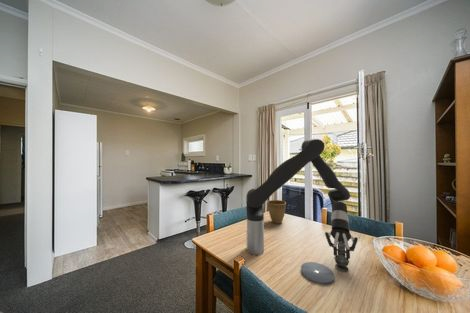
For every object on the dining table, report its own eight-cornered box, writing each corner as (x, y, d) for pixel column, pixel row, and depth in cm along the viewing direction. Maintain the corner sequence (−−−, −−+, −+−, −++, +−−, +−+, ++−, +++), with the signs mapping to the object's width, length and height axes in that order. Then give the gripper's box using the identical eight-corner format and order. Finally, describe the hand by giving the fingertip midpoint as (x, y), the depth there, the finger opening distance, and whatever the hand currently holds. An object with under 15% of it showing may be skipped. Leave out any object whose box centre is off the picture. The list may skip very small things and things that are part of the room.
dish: (308, 284, 68) (308, 281, 68) (296, 264, 81) (296, 262, 81) (341, 283, 68) (341, 280, 68) (323, 264, 81) (323, 261, 81)
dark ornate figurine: (343, 273, 74) (343, 244, 74) (331, 265, 80) (330, 239, 80) (352, 269, 76) (352, 242, 77) (339, 262, 82) (339, 236, 82)
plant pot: (271, 217, 148) (271, 199, 148) (289, 221, 139) (288, 201, 140) (264, 223, 136) (263, 202, 136) (282, 227, 127) (282, 205, 128)
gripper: (324, 215, 88) (323, 250, 77) (357, 220, 82) (362, 259, 71) (324, 223, 93) (324, 256, 82) (356, 227, 86) (360, 265, 75)
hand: (341, 257), depth 76 cm, fingers closed on dark ornate figurine, 3 cm apart
